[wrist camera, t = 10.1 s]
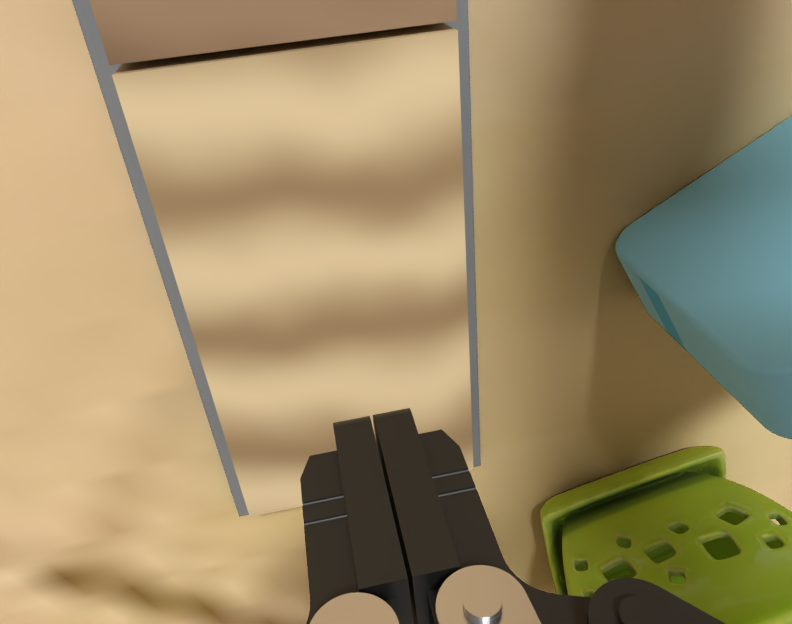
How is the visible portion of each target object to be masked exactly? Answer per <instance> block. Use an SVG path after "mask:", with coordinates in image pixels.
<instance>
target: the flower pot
mask: <svg viewBox="0 0 792 624" xmlns="http://www.w3.org/2000/svg"><path fill="white" fill-rule="evenodd" d="M771 519H776V520H777V521H778V522H779V523H780V525H776V524H775V523H774V522H773V521H772V520H771ZM540 521H541V526H542V532H543V537H544V542H545V547H546V552H547V557H548V562H549V566H550V570H551V575H552V579H553V582H554V586H555V591H556V594H560V595H571V596H582V597H592V596H593V594H594V593H595V591H596V590H597V589H598V588H599V587H601V586H602V585H603V584H605V583H607V582H609V581H611V580H615V579H619V578H636V579H641V580H645V581H648V582H651V583H653V584H655V585H657V586H659V587H661V588H663V589H664V590H666V591H668V592H670V593H672V594H673V595H675V596H677V597H679V598H681V599H682V600H684V601H686V602H688V603H689V604H691V605H693V606H695V607H697V608H698V609H700V610H702V611H704V612H706V613H707V614H709V615H711V616H713V617H714V618H716V619H718V620H720V621H722V622H723V623H725V624H792V512H791V511H790V510H788V509H786V508H785V507H783V506H781V505H780V504H778V503H776V502H775V501H773V500H771V499H769V498H768V497H766V496H764V495H762V494H760V493H758V492H756V491H754V490H752V489H750V488H748V487H745V486H743V485H740V484H738V483H735V482H733V481H730V480H727V479H726V461H725V454H724V451H723V450H722V449H720V448H718V447H714V446H697V447H691V448H686V449H683V450H680V451H677V452H674V453H671V454H668V455H665V456H662V457H659V458H656V459H653V460H650V461H648V462H645V463H642V464H639V465H637V466H634V467H631V468H628V469H626V470H623V471H620V472H617V473H615V474H612V475H609V476H607V477H604V478H601V479H598V480H596V481H593V482H590V483H588V484H585V485H582V486H579V487H577V488H574V489H571V490H569V491H566V492H563V493H561V494H558V495H556V496H554V497H552V498H550V499H549V500H547V501H546V502H545V504H544V505H543V507H542V509H541V513H540Z"/></svg>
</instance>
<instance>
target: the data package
mask: <svg viewBox="0 0 792 624" xmlns="http://www.w3.org/2000/svg"><path fill="white" fill-rule="evenodd" d="M615 251H616V255H617V257H618V259H619V260H620V262H621V264H622V266H623V268H624V270H625V272H626V274H627V275H628V277H629V279H630V281H631V283H632V285H633V287H634V289H635V290H636V292H637V294H638V296H639V298H640V300H641V302H642V303H643V305H644V307H645V309H646V311H647V312H648V314H649V315H650V316H651V317H652V318H653V319H654V320H655V321H656V322H658V323H659V324H660V325H661V326H662V327H663V328H664V329H665V330H666V331H667V332H668V333H669V334H670V335H671V336H672V337H673V338H674V339H675V340H676V341H677V342H678V343H679V344H680V345H681V346H682V347H683V348H684V349H685V350H686V351H687V352H688V353H689V354H690V355H691V356H692V357H693V358H694V359H695V360H696V361H697V362H698V363H699V364H700V365H701V366H702V367H704V368H705V369H706V370H707V371H708V372H709V373H710V374H711V375H712V376H713V377H714V378H715V379H716V380H717V381H718V382H719V383H720V384H721V385H722V386H723V387H724V388H725V389H726V390H727V391H728V392H729V393H730V394H731V395H732V396H733V397H734V398H735V399H736V400H737V401H738V402H739V403H740V404H741V405H742V406H743V407H744V408H745V409H746V410H747V411H748V412H750V413H751V414H752V415H753V416H754V417H755V418H756V419H757V420H758V421H759V422H760V423H761V424H762V425H763V426H764V427H765V428H766V429H768V430H769V431H771V432H772V433H774V434H776V435H778V436H781V437H784V438H788V439H792V116H790V117H789V118H787V119H786V120H785V121H783V122H782V123H780V124H779V125H777V126H776V127H774V128H773V129H771V130H770V131H768V132H767V133H765V134H764V135H762V136H761V137H759V138H758V139H756V140H755V141H753V142H752V143H750V144H749V145H747V146H746V147H744V148H743V149H741V150H740V151H738V152H737V153H735V154H734V155H732V156H731V157H729V158H728V159H726V160H725V161H723V162H722V163H720V164H719V165H717V166H716V167H715V168H713V169H712V170H710V171H709V172H707V173H706V174H704V175H703V176H701V177H700V178H698V179H697V180H695V181H694V182H692V183H691V184H689V185H688V186H686V187H685V188H683V189H682V190H680V191H679V192H677V193H676V194H674V195H673V196H671V197H670V198H668V199H667V200H665V201H664V202H662V203H661V204H659V205H658V206H656V207H655V208H653V209H652V210H650V211H649V212H648V213H646V214H645V215H643V216H642V217H640V218H639V219H637V220H636V221H634V222H633V223H631V224H630V225H629V226H627V227H626V228H625V229H624V230H623V231H622V233H621V234H620V235H619V237H618V239H617V242H616V246H615Z"/></svg>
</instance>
